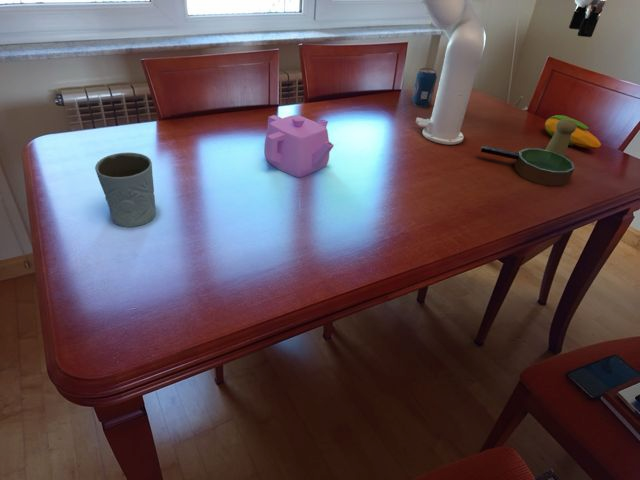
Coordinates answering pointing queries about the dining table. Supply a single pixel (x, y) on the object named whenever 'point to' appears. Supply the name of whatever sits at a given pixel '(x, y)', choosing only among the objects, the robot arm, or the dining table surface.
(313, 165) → the teakettle
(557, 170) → the pan
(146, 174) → the gray embossed cup
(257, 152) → the dining table surface
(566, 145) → the cork
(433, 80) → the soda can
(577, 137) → the corn
